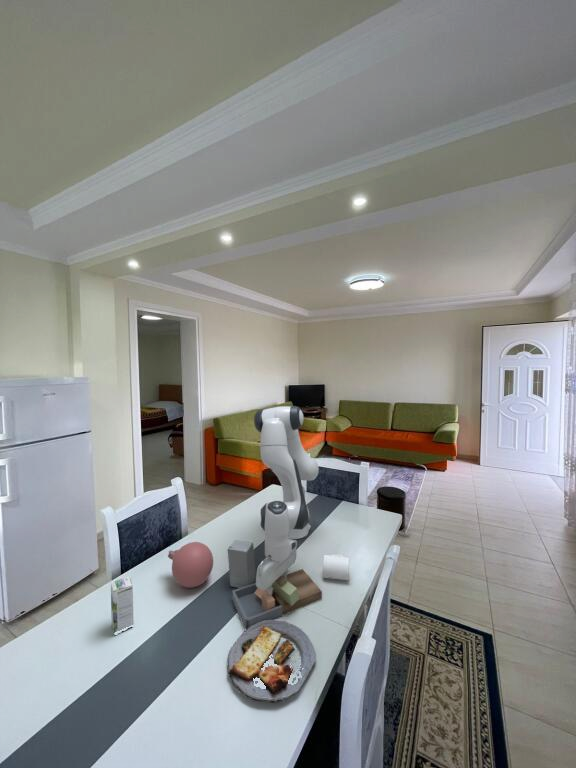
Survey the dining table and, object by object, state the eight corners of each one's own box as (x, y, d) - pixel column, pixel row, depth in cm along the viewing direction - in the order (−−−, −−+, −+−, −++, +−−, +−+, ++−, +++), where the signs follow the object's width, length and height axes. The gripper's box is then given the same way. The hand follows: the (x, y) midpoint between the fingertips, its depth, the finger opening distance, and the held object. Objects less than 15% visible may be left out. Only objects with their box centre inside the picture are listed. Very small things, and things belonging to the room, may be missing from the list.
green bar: (266, 584, 118) (263, 571, 117) (273, 578, 120) (270, 565, 119) (291, 606, 108) (289, 592, 106) (298, 599, 110) (296, 585, 109)
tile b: (268, 604, 112) (261, 606, 110) (268, 590, 111) (261, 593, 110) (274, 613, 107) (268, 616, 106) (274, 599, 107) (268, 602, 106)
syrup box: (111, 624, 104) (109, 582, 103) (130, 616, 107) (129, 575, 106) (114, 636, 99) (112, 592, 98) (134, 627, 103) (133, 584, 102)
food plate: (281, 727, 74) (281, 713, 74) (210, 677, 87) (209, 664, 86) (326, 649, 95) (326, 637, 95) (264, 617, 108) (264, 607, 108)
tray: (232, 600, 114) (231, 590, 114) (264, 588, 120) (264, 579, 120) (246, 631, 101) (246, 620, 101) (282, 616, 107) (282, 606, 107)
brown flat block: (265, 589, 120) (265, 581, 120) (302, 576, 127) (302, 568, 127) (282, 615, 107) (282, 606, 107) (321, 599, 115) (321, 591, 115)
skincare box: (255, 580, 125) (255, 541, 124) (247, 592, 118) (247, 551, 117) (236, 575, 128) (236, 537, 127) (227, 587, 121) (227, 547, 120)
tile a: (257, 597, 115) (254, 593, 114) (266, 584, 118) (263, 580, 117) (265, 603, 111) (262, 599, 110) (274, 590, 114) (271, 586, 113)
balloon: (185, 562, 136) (184, 528, 135) (221, 577, 126) (221, 540, 125) (155, 584, 122) (153, 546, 121) (193, 603, 113) (192, 561, 112)
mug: (348, 585, 122) (349, 565, 121) (322, 582, 124) (322, 562, 123) (349, 566, 134) (349, 547, 133) (325, 563, 136) (325, 545, 135)
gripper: (266, 567, 102) (266, 609, 103) (299, 539, 119) (299, 574, 120) (251, 561, 106) (251, 601, 106) (285, 534, 123) (285, 569, 123)
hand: (277, 587), depth 113 cm, fingers open, 6 cm apart
